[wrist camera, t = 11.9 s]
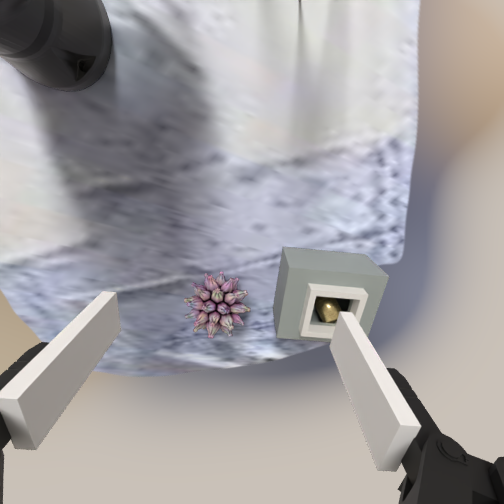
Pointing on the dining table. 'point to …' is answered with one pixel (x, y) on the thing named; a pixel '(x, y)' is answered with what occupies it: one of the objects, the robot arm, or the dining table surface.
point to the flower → (217, 305)
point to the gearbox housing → (324, 291)
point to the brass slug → (327, 309)
